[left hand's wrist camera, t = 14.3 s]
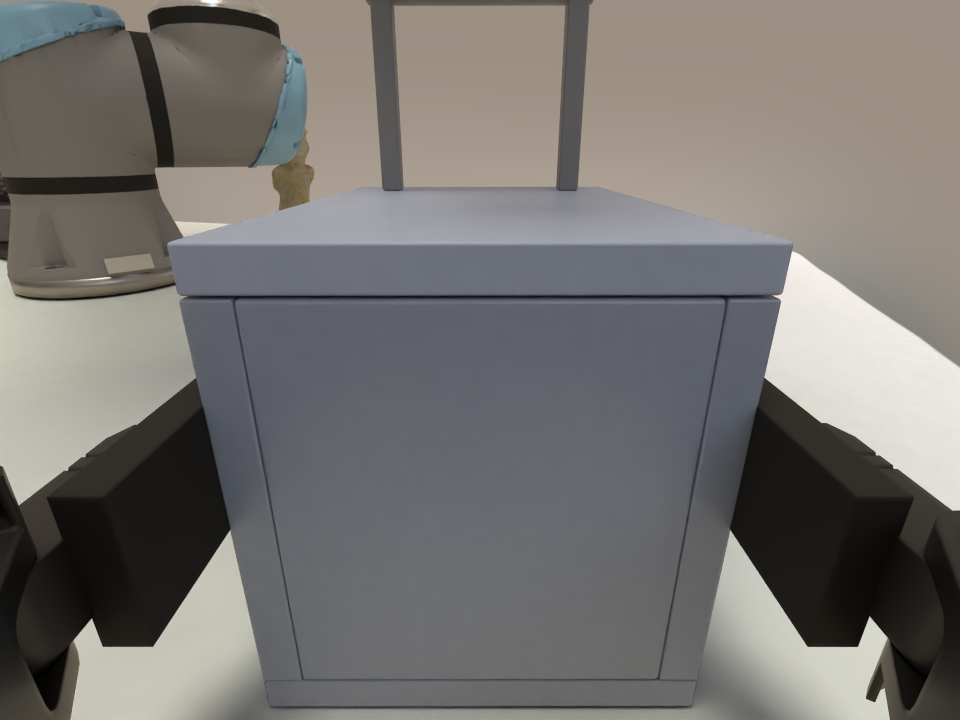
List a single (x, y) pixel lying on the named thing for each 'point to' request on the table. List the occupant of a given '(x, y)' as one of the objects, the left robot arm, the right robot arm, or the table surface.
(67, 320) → the table surface
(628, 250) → the lid
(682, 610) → the chest
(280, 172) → the sculpture
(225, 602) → the table surface
